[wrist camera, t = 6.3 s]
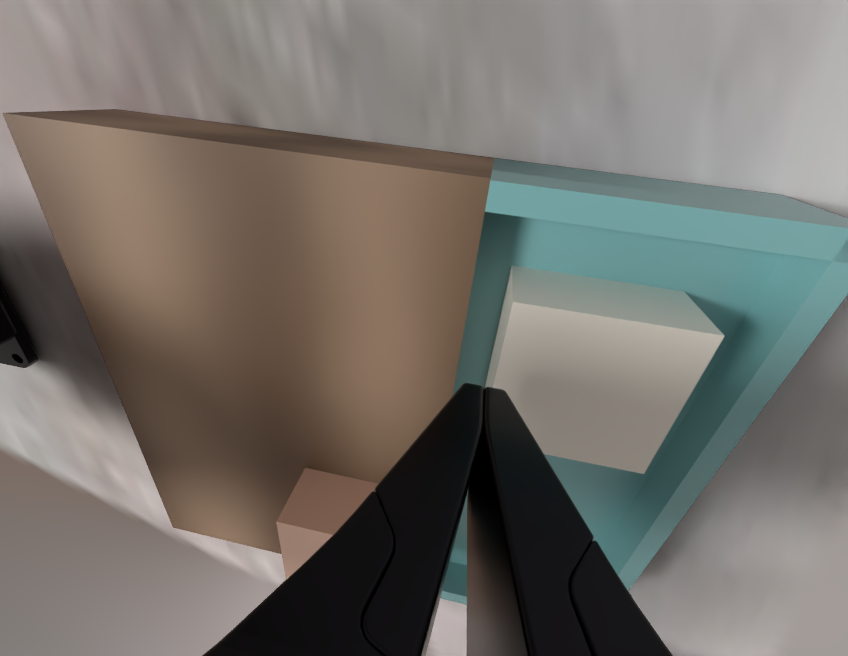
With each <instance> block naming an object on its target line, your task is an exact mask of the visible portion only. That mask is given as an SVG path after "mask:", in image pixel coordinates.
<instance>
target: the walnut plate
mask: <svg viewBox="0 0 848 656" xmlns="http://www.w3.org/2000/svg"><path fill="white" fill-rule="evenodd" d="M3 116H4V118H5V120H6V123H7V125H8V128H9V130H10V133H11V135H12V137H13V140H14V142H15V145H16V147H17V150H18V152H19V154H20V157H21V159H22V162H23V164H24V167H25V169H26V171H27V174H28V176H29V179H30V181H31V184H32V186H33V188H34V191H35V193H36V196H37V198H38V201H39V203H40V205H41V208H42V210H43V213H44V215H45V218H46V220H47V222H48V225H49V227H50V230H51V232H52V235H53V237H54V239H55V242H56V244H57V247H58V249H59V252H60V254H61V256H62V259H63V261H64V264H65V266H66V269H67V271H68V273H69V276H70V278H71V281H72V283H73V286H74V288H75V290H76V293H77V295H78V298H79V300H80V303H81V305H82V307H83V310H84V312H85V315H86V317H87V320H88V322H89V324H90V327H91V329H92V332H93V334H94V337H95V339H96V341H97V344H98V346H99V349H100V351H101V354H102V356H103V358H104V361H105V363H106V366H107V368H108V371H109V373H110V375H111V378H112V380H113V383H114V385H115V388H116V390H117V392H118V395H119V397H120V400H121V402H122V405H123V407H124V409H125V412H126V414H127V417H128V419H129V422H130V424H131V426H132V429H133V431H134V434H135V436H136V439H137V441H138V443H139V446H140V448H141V451H142V453H143V456H144V458H145V460H146V463H147V465H148V468H149V470H150V473H151V475H152V477H153V480H154V482H155V485H156V487H157V490H158V492H159V494H160V497H161V499H162V502H163V504H164V507H165V509H166V511H167V514H168V516H169V519H170V521H171V524H172V526H173V528H178V529H182V530H186V531H190V532H194V533H198V534H202V535H206V536H210V537H214V538H218V539H223V540H227V541H231V542H235V543H239V544H243V545H247V546H251V547H255V548H259V549H263V550H268V551H272V552H276V553H280V554H282V552H281V546H280V541H279V535H278V529H277V523H276V521H277V519H278V517H279V516H280V514H281V512H282V510H283V508H284V506H285V504H286V503H287V501H288V499H289V497H290V495H291V493H292V491H293V490H294V488H295V486H296V484H297V482H298V480H299V478H300V477H301V475H302V473H303V471H304V469H305V468H309V469H313V470H318V471H323V472H327V473H332V474H336V475H341V476H345V477H350V478H354V479H359V480H364V481H368V482H373V483H377V484H379V483H380V481H381V480H382V479H383V478H384V477H385V476H386V474H387V473H388V472H389V471H390V470H391V468H392V467H393V466H394V465H395V464H396V462H397V461H398V460H399V459H400V458H401V457H402V455H403V454H404V453H405V452H406V451H407V449H408V448H409V447H410V446H411V445H412V444H413V442H414V441H415V440H416V439H417V438H418V436H419V435H420V434H421V433H422V432H423V430H424V429H425V428H426V427H427V426H428V425H429V423H430V422H431V421H432V420H433V419H434V417H435V416H436V415H437V414H438V413H439V411H440V410H441V409H442V408H443V407H444V406H445V404H446V403H447V402H448V401H449V400H450V398H451V397H452V396H453V390H454V384H455V379H456V373H457V367H458V362H459V356H460V350H461V345H462V339H463V333H464V327H465V322H466V316H467V310H468V305H469V299H470V293H471V288H472V282H473V276H474V271H475V265H476V259H477V253H478V248H479V242H480V236H481V231H482V225H483V219H484V214H485V208H486V202H487V196H488V191H489V185H490V179H491V174H492V168H493V162H494V158H491V157H483V156H475V155H467V154H460V153H452V152H444V151H436V150H428V149H421V148H413V147H405V146H397V145H390V144H382V143H374V142H366V141H358V140H351V139H343V138H335V137H327V136H319V135H312V134H304V133H296V132H288V131H281V130H273V129H265V128H257V127H249V126H242V125H234V124H226V123H218V122H210V121H203V120H195V119H187V118H179V117H171V116H164V115H156V114H148V113H140V112H133V111H125V110H117V109H108V110H78V111H48V112H18V113H3Z"/></svg>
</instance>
